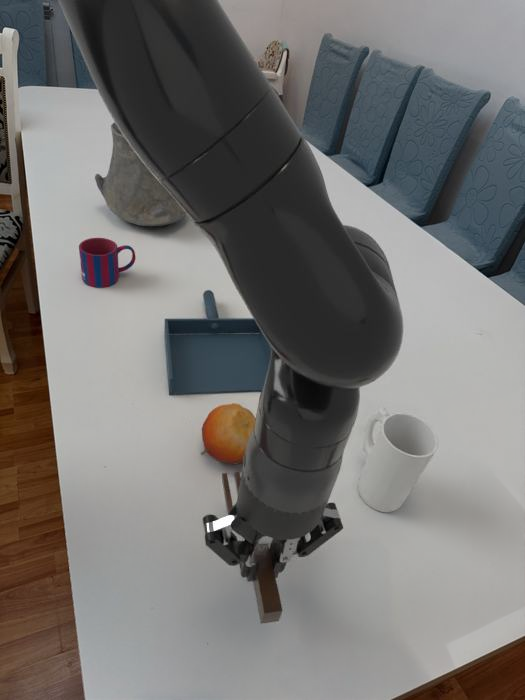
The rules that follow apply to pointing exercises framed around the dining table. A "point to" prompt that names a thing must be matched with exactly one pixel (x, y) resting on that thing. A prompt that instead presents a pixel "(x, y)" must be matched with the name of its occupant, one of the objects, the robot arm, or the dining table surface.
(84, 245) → the cup
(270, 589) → the fork
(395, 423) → the mug
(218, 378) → the dustpan
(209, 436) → the fruit
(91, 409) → the dining table surface
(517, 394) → the dining table surface
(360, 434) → the dining table surface
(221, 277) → the dining table surface
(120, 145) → the vessel
